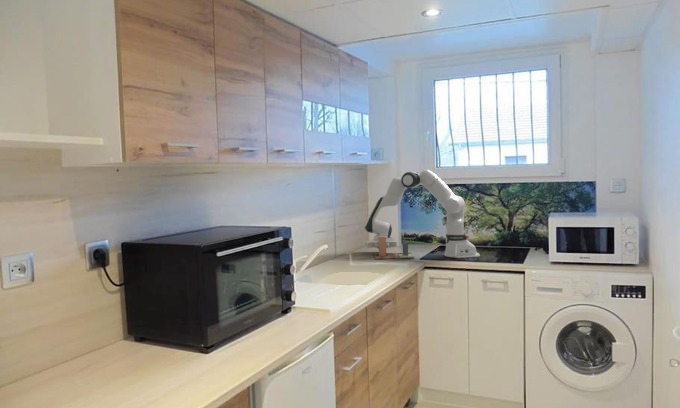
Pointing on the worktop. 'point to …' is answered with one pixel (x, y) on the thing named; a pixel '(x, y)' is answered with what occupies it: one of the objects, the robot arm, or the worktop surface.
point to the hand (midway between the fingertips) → (382, 245)
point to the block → (382, 245)
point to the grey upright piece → (405, 251)
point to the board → (391, 256)
